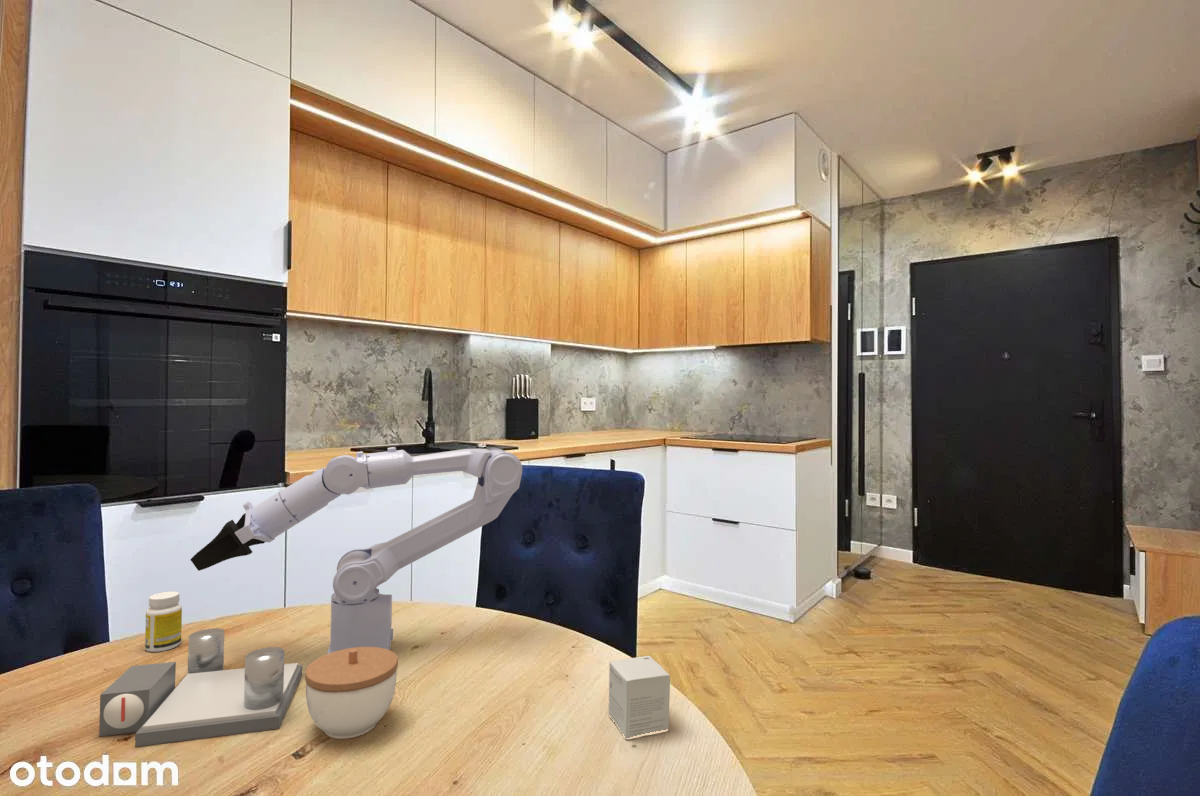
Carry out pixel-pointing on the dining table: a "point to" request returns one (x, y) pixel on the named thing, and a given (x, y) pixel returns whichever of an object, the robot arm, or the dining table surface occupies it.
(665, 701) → the product box
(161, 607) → the supplement bottle
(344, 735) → the lidded jar
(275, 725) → the scale
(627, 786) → the dining table surface
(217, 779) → the dining table surface
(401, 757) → the dining table surface
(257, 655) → the cylinder
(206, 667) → the cylinder
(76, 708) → the dining table surface
